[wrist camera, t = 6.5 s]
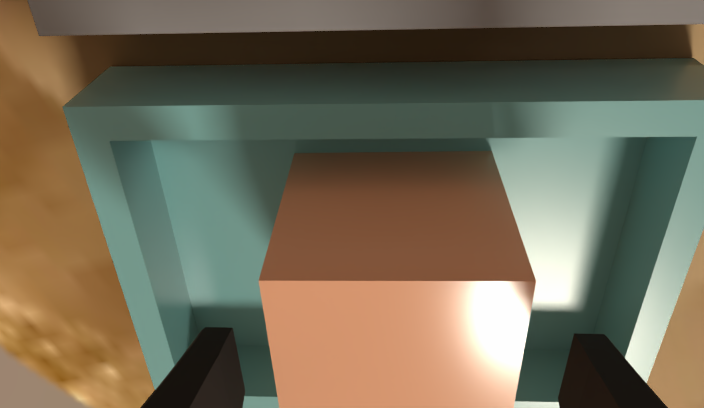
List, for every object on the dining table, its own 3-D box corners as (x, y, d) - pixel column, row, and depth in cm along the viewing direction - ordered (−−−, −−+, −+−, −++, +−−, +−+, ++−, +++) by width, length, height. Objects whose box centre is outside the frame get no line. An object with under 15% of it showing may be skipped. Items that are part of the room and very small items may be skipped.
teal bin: (693, 58, 13) (750, 99, 11) (604, 355, 19) (632, 421, 17) (110, 66, 14) (62, 106, 12) (186, 350, 20) (162, 412, 17)
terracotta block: (491, 150, 14) (536, 281, 10) (475, 300, 17) (505, 451, 13) (294, 152, 15) (258, 280, 10) (309, 299, 17) (286, 447, 13)
